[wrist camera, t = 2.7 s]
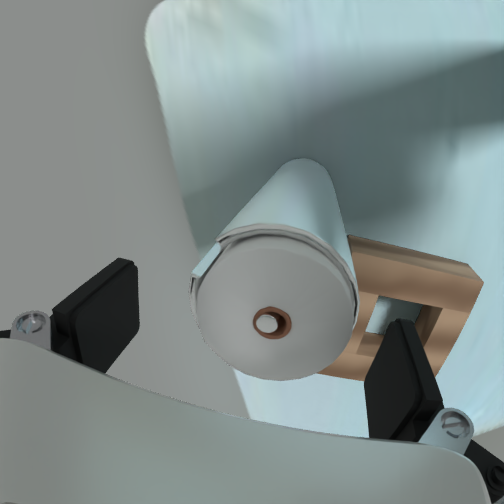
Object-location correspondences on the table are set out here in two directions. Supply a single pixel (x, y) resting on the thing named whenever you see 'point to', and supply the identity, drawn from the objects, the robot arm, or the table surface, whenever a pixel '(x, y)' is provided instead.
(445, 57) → the table surface
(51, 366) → the robot arm
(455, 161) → the table surface
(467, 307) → the socket block
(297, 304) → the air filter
